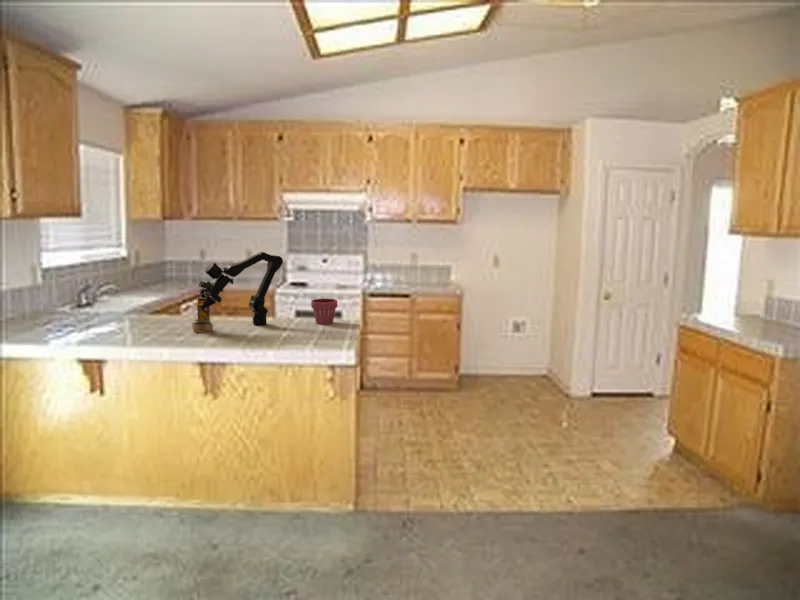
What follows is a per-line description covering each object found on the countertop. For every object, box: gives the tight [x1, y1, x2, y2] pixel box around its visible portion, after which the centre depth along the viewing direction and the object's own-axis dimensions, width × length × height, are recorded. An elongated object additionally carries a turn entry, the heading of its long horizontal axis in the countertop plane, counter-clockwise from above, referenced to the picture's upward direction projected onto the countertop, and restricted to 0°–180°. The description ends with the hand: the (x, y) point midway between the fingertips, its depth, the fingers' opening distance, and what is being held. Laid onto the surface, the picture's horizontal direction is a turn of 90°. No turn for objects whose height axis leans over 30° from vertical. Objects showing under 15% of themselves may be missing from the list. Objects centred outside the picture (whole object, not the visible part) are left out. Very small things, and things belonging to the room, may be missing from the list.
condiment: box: [192, 297, 212, 323], centre depth 334 cm, size 7×8×12 cm
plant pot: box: [310, 298, 338, 326], centre depth 357 cm, size 14×14×13 cm
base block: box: [191, 321, 214, 333], centre depth 334 cm, size 9×9×4 cm
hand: (199, 308), depth 332 cm, fingers closed on condiment, 6 cm apart
